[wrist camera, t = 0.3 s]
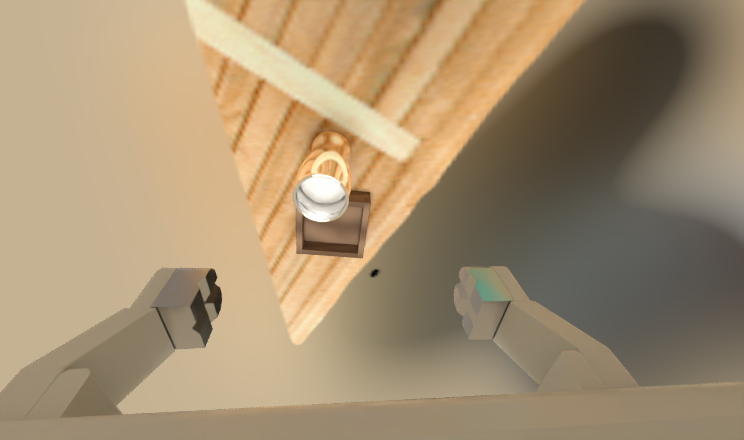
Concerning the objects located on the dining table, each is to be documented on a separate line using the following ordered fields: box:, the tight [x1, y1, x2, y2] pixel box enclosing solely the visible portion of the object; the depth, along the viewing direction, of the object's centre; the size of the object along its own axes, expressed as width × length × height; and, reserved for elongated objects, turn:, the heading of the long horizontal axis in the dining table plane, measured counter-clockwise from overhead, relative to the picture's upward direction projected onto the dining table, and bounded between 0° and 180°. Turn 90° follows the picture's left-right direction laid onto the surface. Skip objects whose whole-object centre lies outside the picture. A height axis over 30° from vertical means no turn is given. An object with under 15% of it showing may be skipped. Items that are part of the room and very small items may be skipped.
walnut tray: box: [296, 191, 371, 258], centre depth 54 cm, size 12×12×4 cm
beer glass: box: [293, 131, 352, 222], centre depth 42 cm, size 7×7×15 cm
